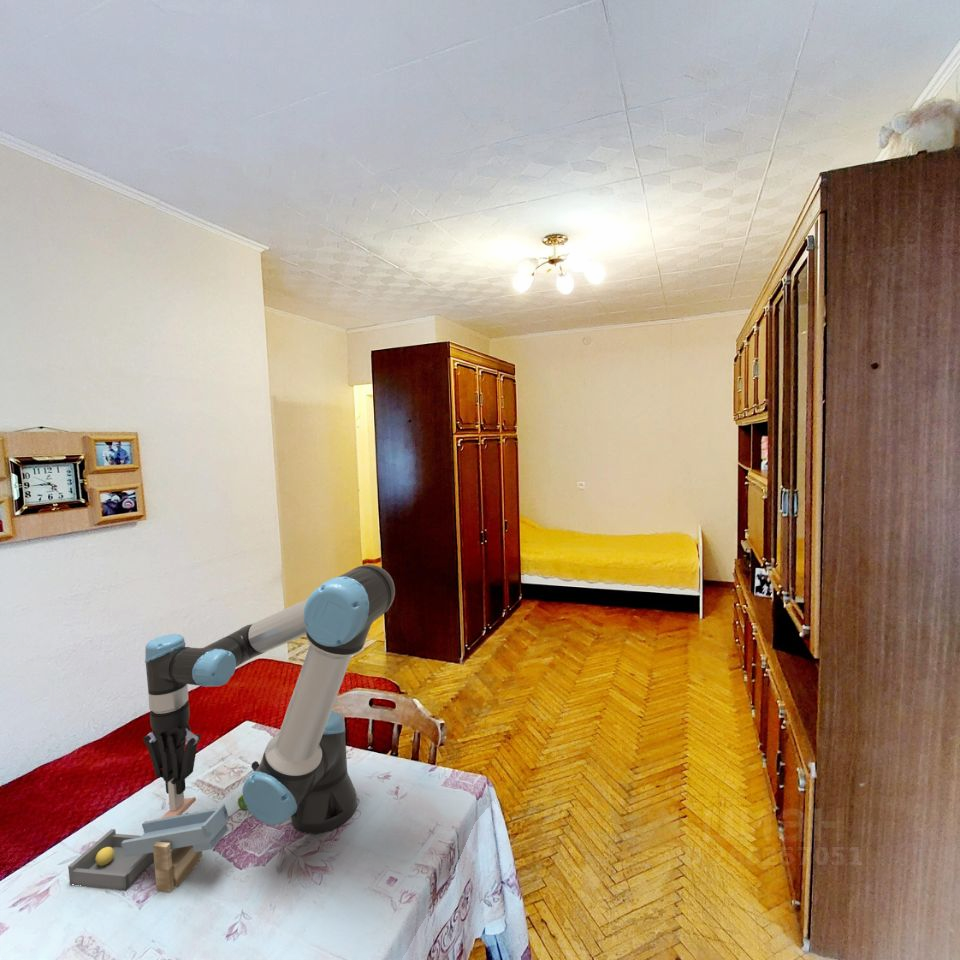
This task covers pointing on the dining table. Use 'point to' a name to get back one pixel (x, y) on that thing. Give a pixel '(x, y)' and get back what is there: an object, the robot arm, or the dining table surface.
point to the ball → (104, 856)
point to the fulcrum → (173, 865)
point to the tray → (109, 865)
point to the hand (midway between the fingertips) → (177, 805)
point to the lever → (181, 830)
